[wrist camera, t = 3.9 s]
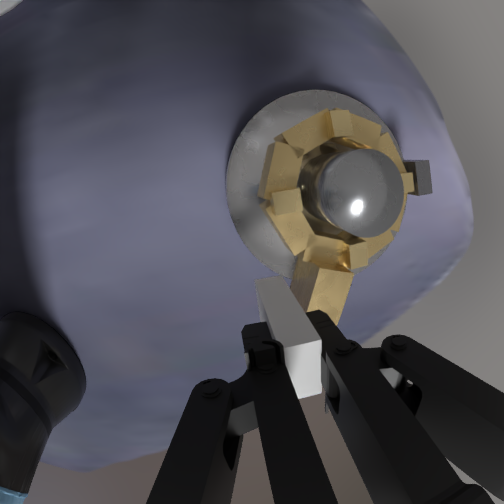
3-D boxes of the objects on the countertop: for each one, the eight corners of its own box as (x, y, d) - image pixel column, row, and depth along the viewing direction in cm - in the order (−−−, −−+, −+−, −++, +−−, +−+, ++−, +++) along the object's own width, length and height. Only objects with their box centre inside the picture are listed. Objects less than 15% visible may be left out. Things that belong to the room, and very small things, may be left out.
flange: (372, 286, 30) (419, 322, 21) (208, 260, 26) (207, 302, 18) (408, 130, 25) (466, 124, 17) (248, 73, 22) (266, 30, 13)
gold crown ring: (357, 304, 27) (381, 328, 22) (237, 289, 25) (243, 316, 20) (397, 144, 23) (430, 141, 19) (277, 101, 21) (294, 83, 16)
